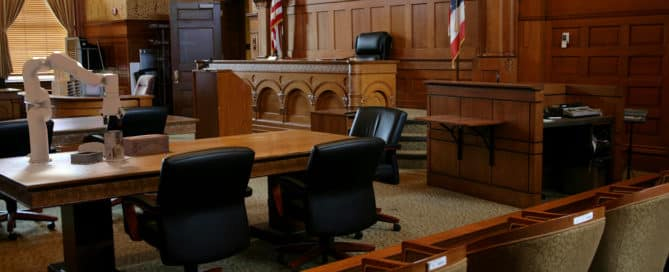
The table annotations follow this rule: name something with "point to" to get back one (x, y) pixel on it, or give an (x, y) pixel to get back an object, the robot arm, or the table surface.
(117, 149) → the coffee box
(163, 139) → the tissue box cover
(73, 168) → the table surface
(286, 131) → the table surface
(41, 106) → the robot arm
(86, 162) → the metal bracket
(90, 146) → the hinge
